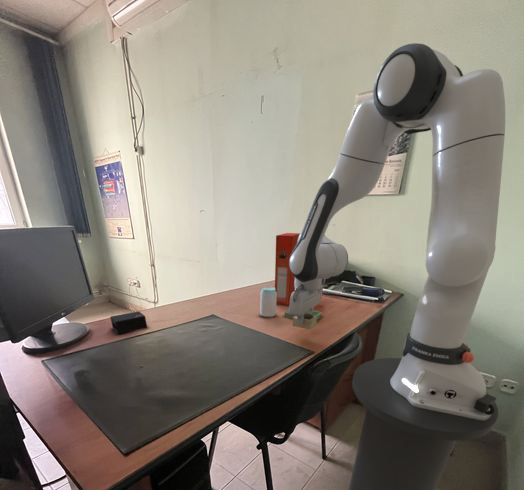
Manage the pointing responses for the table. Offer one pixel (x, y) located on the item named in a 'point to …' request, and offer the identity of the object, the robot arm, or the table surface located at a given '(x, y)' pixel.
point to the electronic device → (128, 322)
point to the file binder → (284, 267)
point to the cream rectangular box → (306, 321)
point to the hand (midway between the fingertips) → (304, 321)
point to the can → (268, 302)
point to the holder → (314, 313)
